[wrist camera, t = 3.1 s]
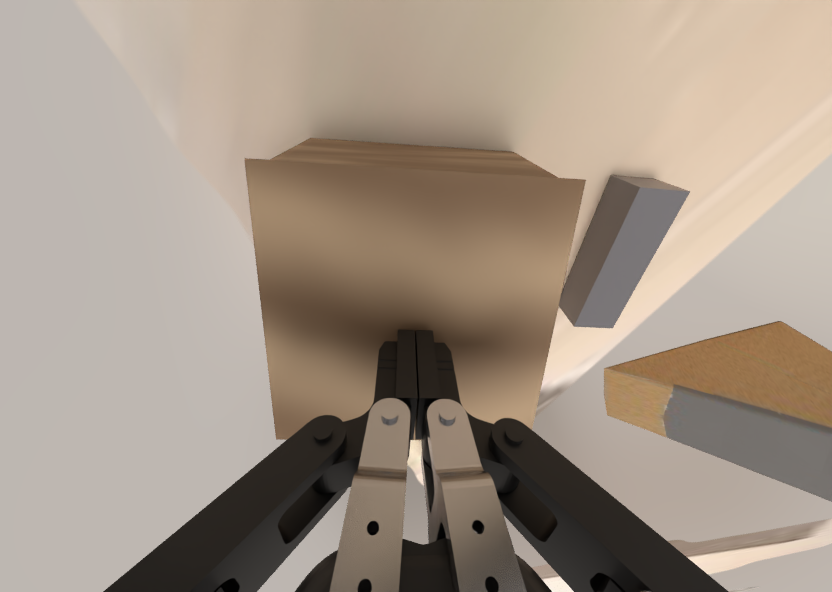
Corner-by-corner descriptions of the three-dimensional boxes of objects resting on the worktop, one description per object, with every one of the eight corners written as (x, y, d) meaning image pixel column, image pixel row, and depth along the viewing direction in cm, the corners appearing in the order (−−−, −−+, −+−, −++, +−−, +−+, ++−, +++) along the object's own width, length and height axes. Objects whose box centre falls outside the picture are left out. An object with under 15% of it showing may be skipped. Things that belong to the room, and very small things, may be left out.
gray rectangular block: (608, 174, 20) (640, 187, 17) (651, 178, 20) (690, 191, 17) (555, 301, 25) (573, 326, 23) (590, 303, 26) (612, 328, 23)
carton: (310, 138, 18) (265, 161, 12) (513, 151, 19) (563, 180, 13) (329, 306, 24) (306, 374, 19) (477, 311, 25) (500, 377, 19)
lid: (256, 160, 12) (244, 158, 11) (571, 180, 13) (585, 179, 12) (283, 424, 16) (276, 439, 15) (521, 426, 16) (529, 440, 16)
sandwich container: (601, 366, 30) (744, 566, 17) (782, 317, 27) (1105, 512, 15) (605, 416, 34) (720, 602, 22) (760, 378, 32) (992, 566, 19)
